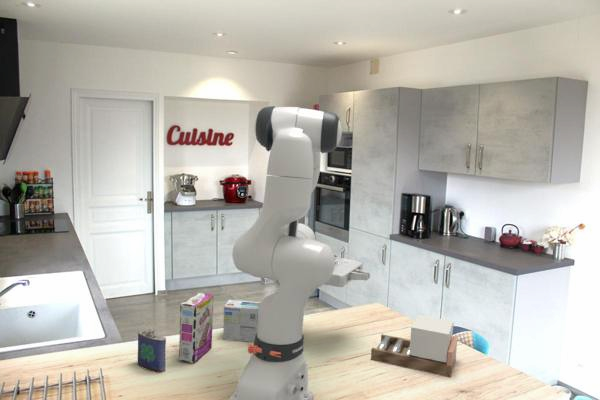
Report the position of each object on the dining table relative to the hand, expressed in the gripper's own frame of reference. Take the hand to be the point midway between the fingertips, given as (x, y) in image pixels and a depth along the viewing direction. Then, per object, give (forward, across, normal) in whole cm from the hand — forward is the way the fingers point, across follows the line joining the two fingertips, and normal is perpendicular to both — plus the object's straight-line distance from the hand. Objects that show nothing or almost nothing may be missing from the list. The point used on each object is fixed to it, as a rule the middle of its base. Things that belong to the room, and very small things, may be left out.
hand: (368, 276), depth 147 cm
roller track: (+15, +1, +22) cm, 27 cm away
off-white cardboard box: (+19, +1, +19) cm, 27 cm away
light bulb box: (-36, -9, +23) cm, 44 cm away
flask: (-48, -38, +24) cm, 65 cm away
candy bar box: (-41, -26, +24) cm, 54 cm away
